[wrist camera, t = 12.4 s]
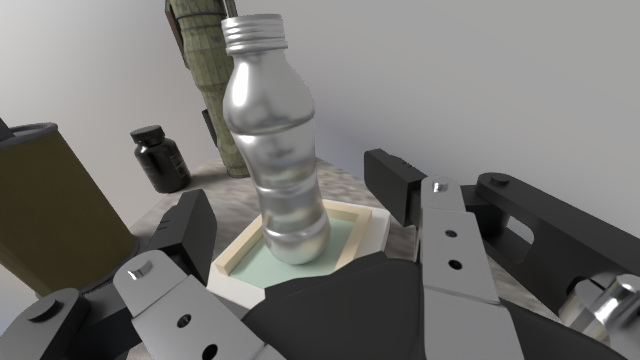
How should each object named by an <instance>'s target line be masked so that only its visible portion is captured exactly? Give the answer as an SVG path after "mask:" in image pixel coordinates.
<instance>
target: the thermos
mask: <svg viewBox="0 0 640 360" xmlns="http://www.w3.org/2000/svg"><path fill="white" fill-rule="evenodd" d="M225 2H226V6H227V10H228V14H229V18H233V17H238V15H237V10H236V7H235V2H234V0H225ZM165 13H166V16H167V18H168V21H169V23H170V26H171V29H172V31H173V34H174V36H175V39H176V41H177V44H178V46H179V49H180V51H181V54H182V57H183V60H184V63H185V66H186V67H187V68H188V69H189V70H191V73H192V76H193V79H194V81H195V84H196V86H197V87H198V89H199V90H200V91H201V93H202V96H203V98H204V101H205V104H206V107H207V110H208V112H209V115H210V118H211V121H212V124H213V127H214V129H215V132H216V135H217V146H218V149H219V152H220V155H221V157H222V160H223V163H224V165H225V166H226V168H227V172H228V174H229V176H231V177H233V178H246V177H251V176H250V173H249V171H248V168H247V165H246V163H245V161H244V159H243V157H242V155H241V153H240V151H239V149H238V147H237V145H236V143H235V141H234V139H233V137H232V135H231V133H230V131H231V130H229V128H228V126H227V124H226V121H225V119H224V117H223V99H224V96H225V92H226V88H227V85H228V83H229V80H230V77H231V75H232V72H233V70H234V59H233V57H232V56H227V52H226V48H227V45H226V41H225V38H224V34H223V30H222V23H221V21H222V20H225V19H227V18H226V16H227V13H226V10H225V6H224V2H223V0H166V1H165Z"/></svg>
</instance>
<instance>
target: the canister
mask: <svg viewBox="0 0 640 360" xmlns="http://www.w3.org/2000/svg"><path fill="white" fill-rule="evenodd" d="M57 129H58V126H57V124H55V123H51V122H50V123H37V124H29V125H23V126H17V127H11V128H8V126H7V125H6V124H5V123H4V122H3V120H2V119H1V118H0V264H2V265H3V266H4V267H5V268H6V269H8V270H9V271H10V272H12V273H13V274H14V275H15V276H17V277H18V278H19V279H20V280H21V281H23V282H24V283H25V284H26V285H28V286H29V287H30V288H31V289H33V290H34V291H35V293H36V297H37V298H38V299H39V300H40V299H42V298H43V297H45V296H47V295H49V294H51V293H54V292H56V291H59V290H62V289H66V288H75V289H77V290H78V291H79V292H80V293H81V294H83V293H86V292H88V291H90V290H92V289H93V288H95V287H97V286H99V285H100V284H102V283H104V282H105V281H107V280H109V279H110V278H112V277H113V276H114V275H115V274H116V273H117V271H118V270H119V269H120V268H121V267H122V266H123V265H124V264H125V263H126V262H128V261H129V260H131V259H132V258H133V257H134V255H135V254H136V252H137V251H138V248H139V240H138V238H136V237H135V236H134V235H132V234H131V233H130V231H129V230H128V228H127V227H126V225H125V224H124V223H123V221H122V220H121V218H120V217H119V216H118V214H117V213H116V212H115V210H114V209H113V207H112V206H111V204H110V203H109V202H108V200H107V199H106V197H105V196H104V195H103V193H102V192H101V190H100V189H99V188H98V186H97V185H96V183H95V182H94V181H93V179H92V178H91V176H90V175H89V173H88V172H87V171H86V169H85V168H84V167H83V165H82V164H81V162H80V161H79V159H78V158H77V157H76V155H75V154H74V152H73V151H72V150H71V148H70V147H69V145H68V144H67V143H66V141H65V140H64V138H63V137H62V136H61V134H60V133H59V131H58V130H57Z"/></svg>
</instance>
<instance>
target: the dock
mask: <svg viewBox="0 0 640 360" xmlns="http://www.w3.org/2000/svg"><path fill="white" fill-rule="evenodd" d="M322 201H323V205H324V207H325V209H326V211H327V214H328V217H329V221H330V225H331V231H330V241H329V244H328V246H327V247H326V249H325V250H324V251H323V252H322V254H321V255H320V256H319V257H317V258H316V259H314V260H312V261H310V262H308V263H305V264H299V265H293V264H288V263H285V262H282V261H279V260H278V259H276V258H275V257H274V256H273V255H272V254H271V252H270V251H269V249H268V247H267V246H266V244H265V241H264V235H263V228H262V215H261V214H260V215H259V216H258V217H257V218H256V219H255V220H254V221H253V222H252V223H251V224H250V225H249V226H248V227H247V228H246V229H245V230H244V231H243V232H242V233H241V234H240V235H239V236H238V237H237V238H236V239H235V240H234V241H233V242H232V243H231V244H230V245H229V246H228V247H227V248H226V249H225V250H224V251H223V252H222V253H221V254H220V255H219V256H218V257H217V258H216V259H215V260H214V261H213V262H212V263H211V267H210V273H209V279H208V285H207V287H206V288H207V289H208V290H209V291H210V292H211V293H212V294H213V295H214V296H215V297H216V298H217V299H218V300H219V301H220V302H221V303H222V304H223V305H225V306H226V307H227V308H228V309H229V310H230V311H231V312H232V313H233V314H234V315H235V316H236V317H237V318H238V319H239V320H240V319H241V318H242V317H243V316H244V315H245V314H246V313H247V312H248V311H249V310H250V309H251V308H253V307H254V306H255V305H257V304H258V303H259V302H261V301H262V300H264V299H265V292H264V288H266V287H269V286H272V285H275V284H278V283H281V282H285V281H288V280H291V279H294V278H301V277H312V276H323V275H329V274H331V273H333V272H334V271H336V270H338V269H339V268H341V267H343V266H344V265H346V264H348V263H349V262H351V261H352V260H354V259H356V258H359V257H362V256H365V255H369V254H372V253H375V252H378V251H381V250H382V251H383V252H384V249H385V245H386V241H387V237H388V233H389V230H390V216H391V213H390V212H389V211H388V210H384V209H378V208H373V207H367V206H361V205H355V204H349V203H343V202H338V201H332V200H326V199H322Z"/></svg>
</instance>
